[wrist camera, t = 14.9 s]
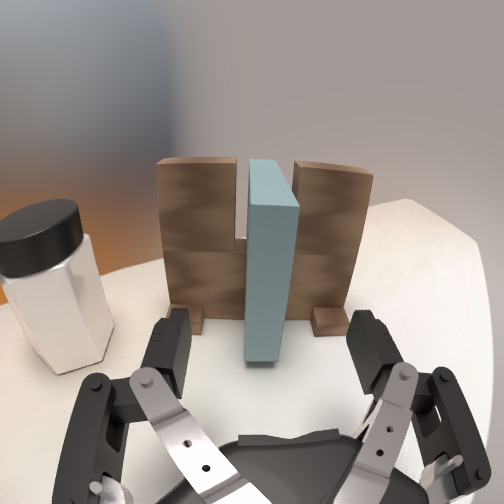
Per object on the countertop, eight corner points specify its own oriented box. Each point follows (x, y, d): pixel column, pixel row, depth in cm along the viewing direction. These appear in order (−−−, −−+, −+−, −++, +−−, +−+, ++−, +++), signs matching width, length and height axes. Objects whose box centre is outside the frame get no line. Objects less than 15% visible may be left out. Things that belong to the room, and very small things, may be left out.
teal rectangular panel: (277, 361, 20) (299, 206, 14) (244, 361, 20) (250, 204, 14) (267, 264, 32) (274, 160, 26) (245, 264, 32) (249, 158, 26)
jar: (58, 306, 24) (25, 201, 18) (122, 310, 25) (96, 192, 19) (25, 368, 16) (-36, 248, 10) (97, 383, 17) (37, 244, 11)
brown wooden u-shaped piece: (167, 332, 23) (144, 170, 16) (181, 286, 29) (172, 153, 22) (345, 335, 23) (386, 182, 17) (328, 290, 30) (352, 162, 23)
